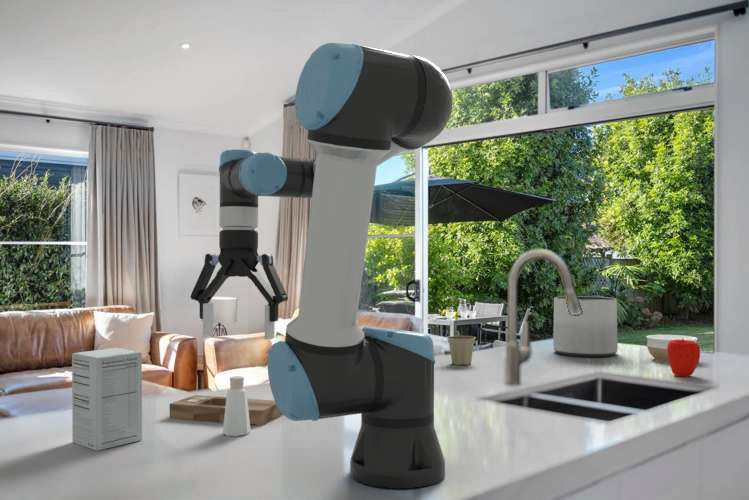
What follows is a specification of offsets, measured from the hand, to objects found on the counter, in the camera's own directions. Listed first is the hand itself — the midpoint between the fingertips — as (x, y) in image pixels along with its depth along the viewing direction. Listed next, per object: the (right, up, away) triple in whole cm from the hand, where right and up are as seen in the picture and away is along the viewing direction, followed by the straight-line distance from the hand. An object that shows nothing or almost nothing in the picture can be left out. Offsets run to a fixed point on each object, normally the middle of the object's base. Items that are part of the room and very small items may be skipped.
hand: (238, 337), depth 136 cm
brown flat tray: (-5, -19, +14) cm, 24 cm away
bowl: (+127, -20, +97) cm, 161 cm away
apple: (+117, -20, +66) cm, 136 cm away
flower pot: (+55, -20, +88) cm, 106 cm away
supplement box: (-23, -19, -7) cm, 31 cm away
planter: (+103, -20, +113) cm, 154 cm away
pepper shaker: (0, -19, 0) cm, 19 cm away
